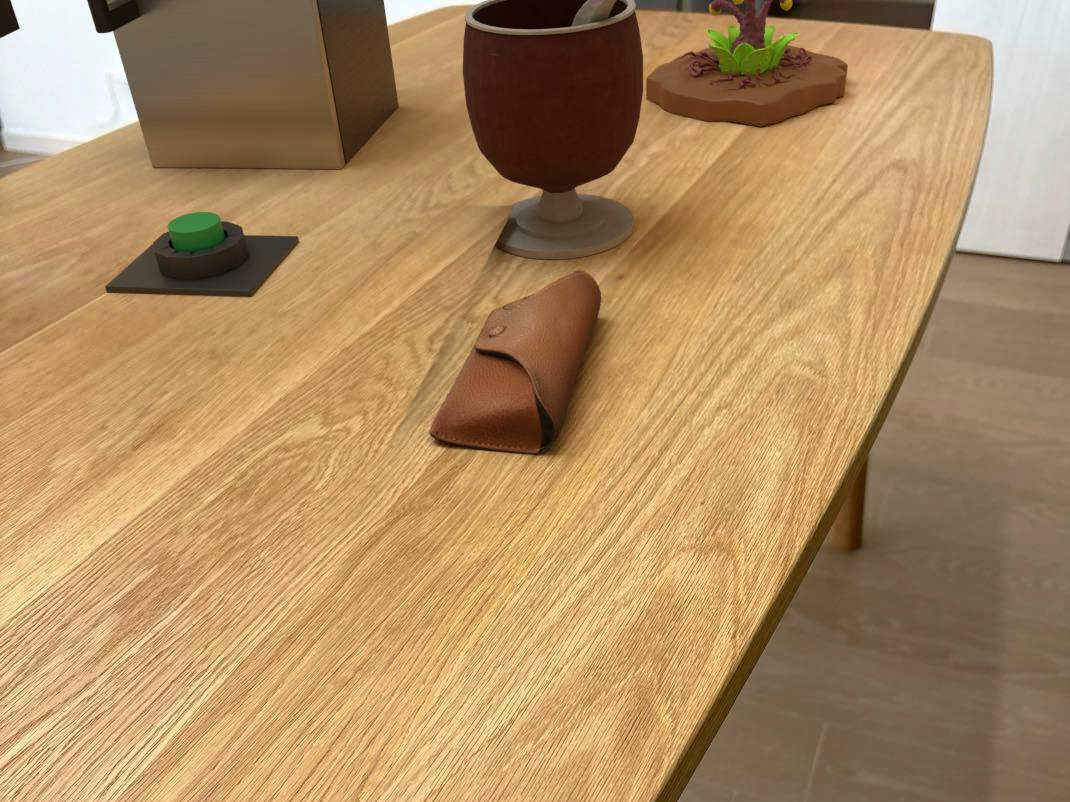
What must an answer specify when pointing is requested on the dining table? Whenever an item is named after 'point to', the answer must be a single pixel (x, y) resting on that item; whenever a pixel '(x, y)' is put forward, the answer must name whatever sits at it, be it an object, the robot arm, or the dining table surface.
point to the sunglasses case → (522, 370)
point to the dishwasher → (358, 68)
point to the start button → (196, 231)
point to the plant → (747, 74)
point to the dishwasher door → (227, 81)
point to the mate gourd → (555, 114)
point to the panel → (205, 266)
